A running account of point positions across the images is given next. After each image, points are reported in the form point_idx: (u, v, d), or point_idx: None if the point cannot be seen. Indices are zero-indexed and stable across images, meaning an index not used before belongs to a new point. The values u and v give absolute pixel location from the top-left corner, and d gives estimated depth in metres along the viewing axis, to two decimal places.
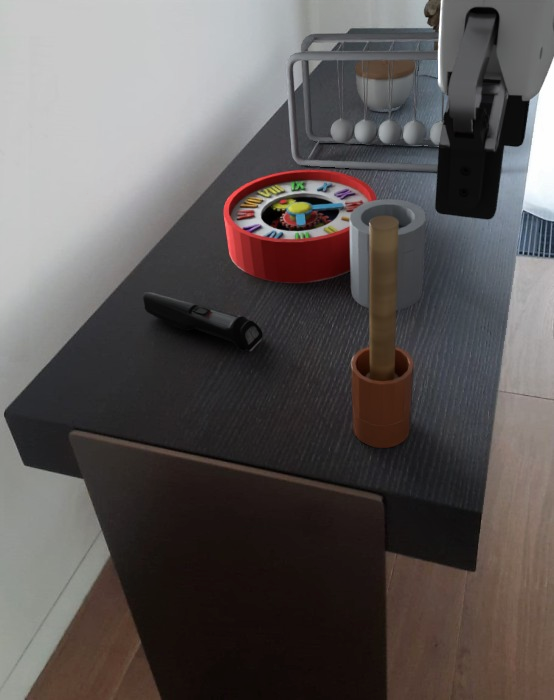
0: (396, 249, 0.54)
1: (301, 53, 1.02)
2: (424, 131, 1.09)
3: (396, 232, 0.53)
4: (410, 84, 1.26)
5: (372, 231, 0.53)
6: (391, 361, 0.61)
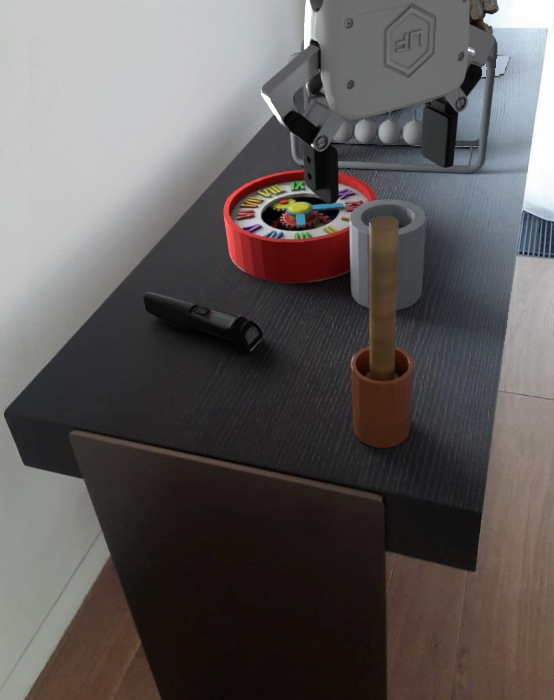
0: (396, 249, 0.54)
1: None
2: None
3: (396, 232, 0.53)
4: None
5: (372, 231, 0.53)
6: (391, 361, 0.61)
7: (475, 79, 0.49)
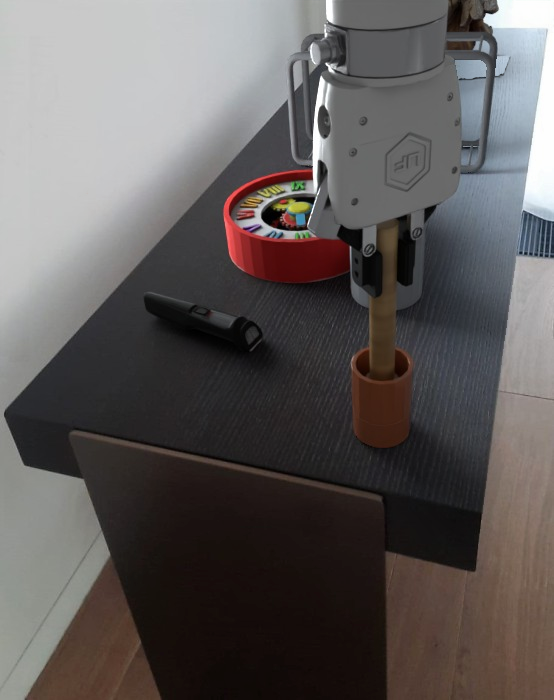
0: (396, 249, 0.54)
1: (301, 53, 1.02)
2: None
3: (396, 232, 0.53)
4: None
5: None
6: (391, 361, 0.61)
7: (430, 210, 0.54)
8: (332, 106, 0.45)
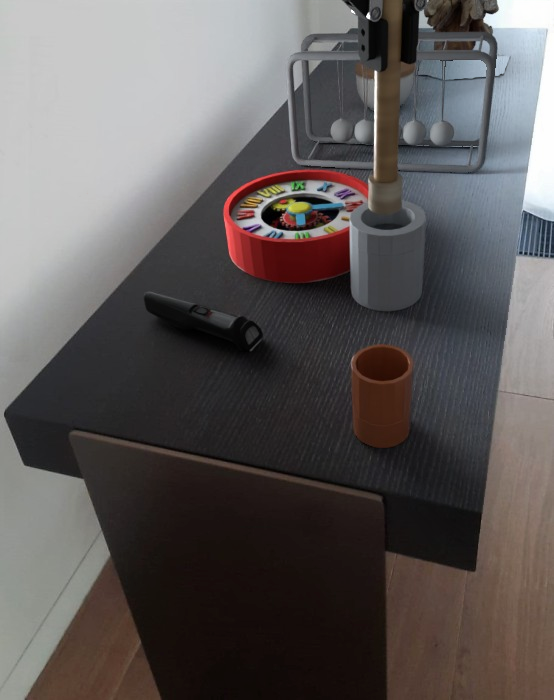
0: (400, 21, 0.57)
1: (301, 53, 1.02)
2: (424, 131, 1.09)
3: (400, 0, 0.56)
4: (410, 84, 1.26)
5: None
6: (395, 152, 0.64)
7: None
8: None
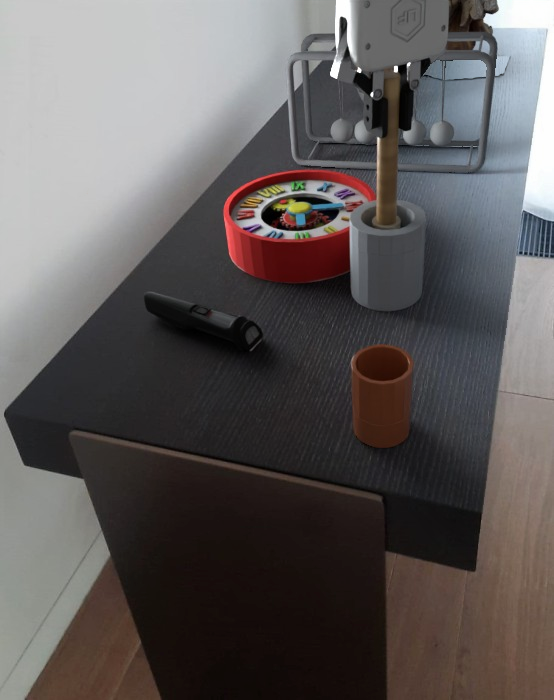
0: (398, 97, 0.70)
1: (301, 53, 1.02)
2: (424, 131, 1.09)
3: (398, 82, 0.69)
4: None
5: None
6: (394, 200, 0.76)
7: (425, 66, 0.69)
8: None
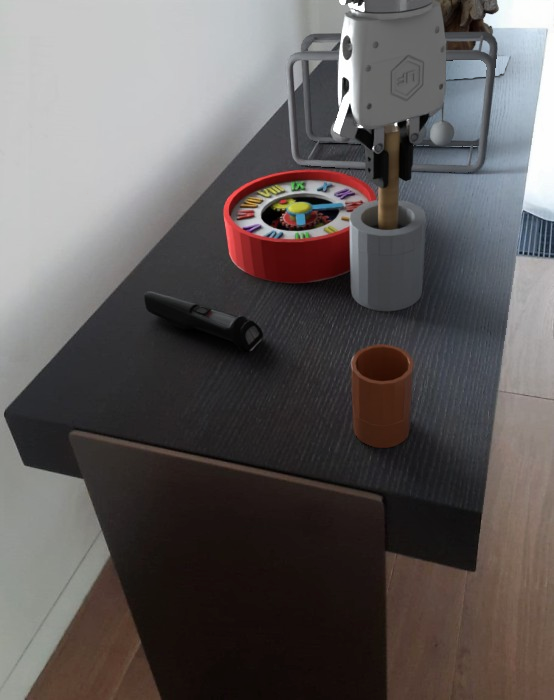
0: (398, 150, 0.73)
1: (301, 53, 1.02)
2: (424, 131, 1.09)
3: (398, 136, 0.72)
4: None
5: None
6: None
7: (424, 121, 0.72)
8: (353, 34, 0.63)
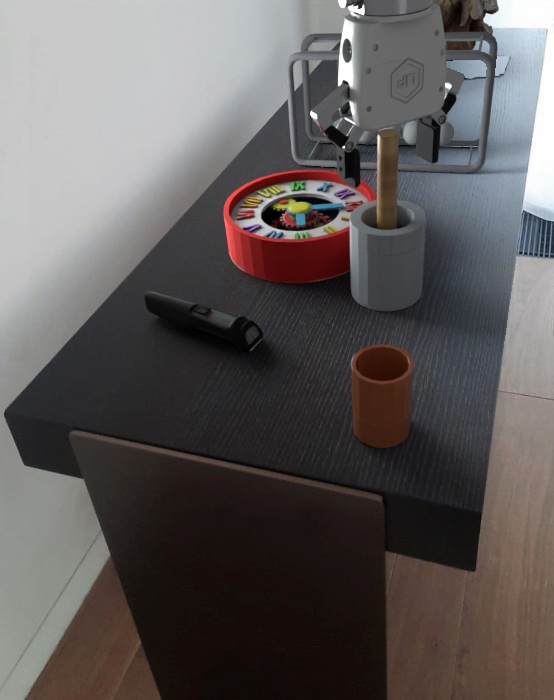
0: (397, 153, 0.73)
1: (301, 53, 1.02)
2: None
3: (397, 140, 0.72)
4: None
5: (379, 139, 0.72)
6: None
7: (451, 103, 0.73)
8: (353, 37, 0.64)
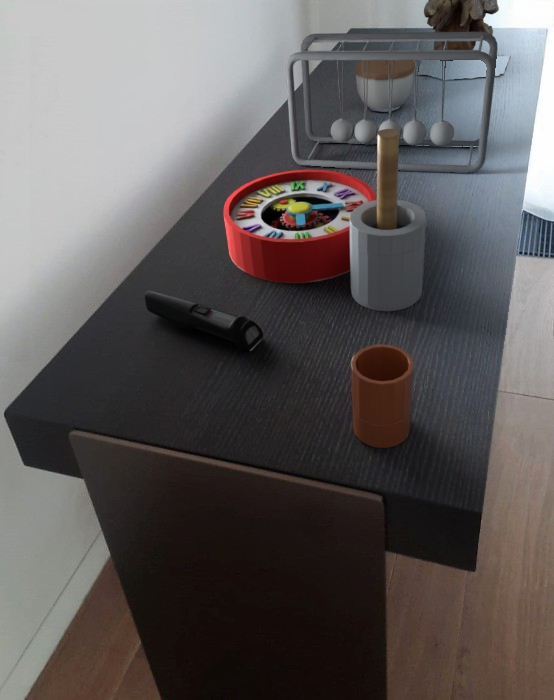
0: (397, 153, 0.73)
1: (301, 53, 1.02)
2: (424, 131, 1.09)
3: (397, 140, 0.72)
4: (410, 84, 1.26)
5: (379, 139, 0.72)
6: None
7: None
8: None
